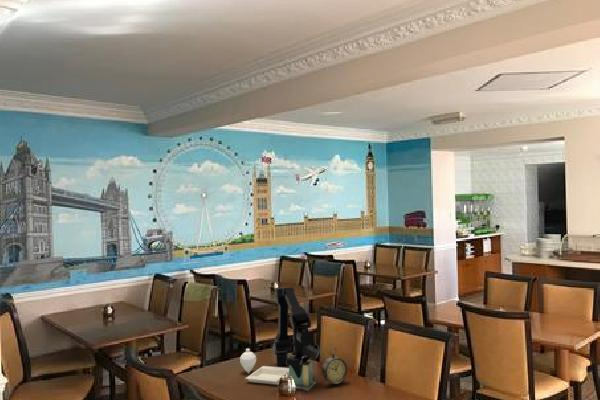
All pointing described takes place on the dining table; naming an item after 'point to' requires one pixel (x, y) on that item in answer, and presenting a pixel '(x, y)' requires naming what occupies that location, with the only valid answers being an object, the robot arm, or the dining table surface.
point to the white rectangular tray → (268, 375)
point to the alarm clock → (334, 369)
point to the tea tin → (303, 374)
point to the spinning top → (248, 360)
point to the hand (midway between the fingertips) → (301, 375)
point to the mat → (306, 387)
